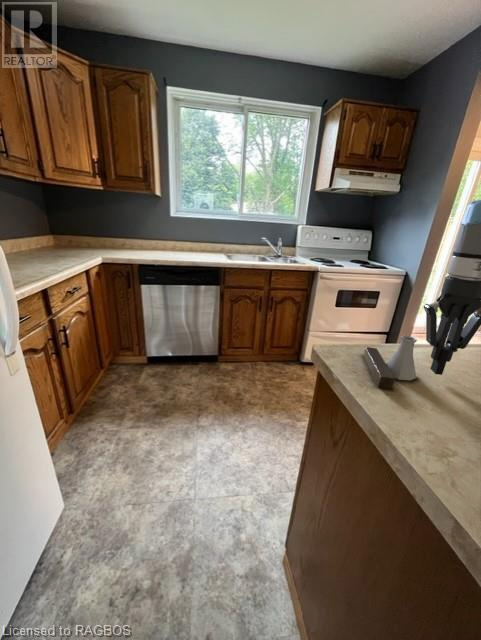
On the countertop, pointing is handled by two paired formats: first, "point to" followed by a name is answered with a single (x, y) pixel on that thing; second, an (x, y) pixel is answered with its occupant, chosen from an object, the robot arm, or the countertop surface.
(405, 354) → the flask
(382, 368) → the rail
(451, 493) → the countertop surface
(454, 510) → the countertop surface
